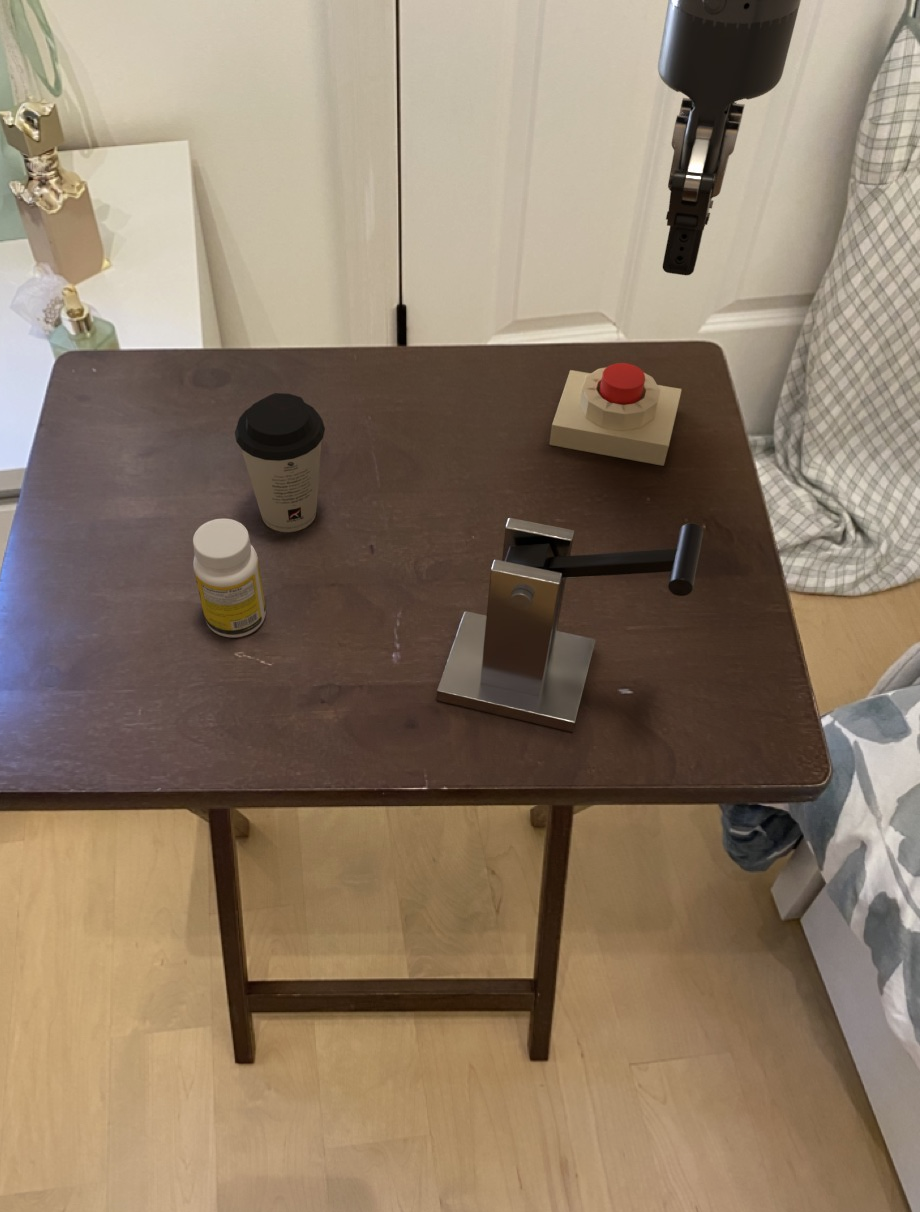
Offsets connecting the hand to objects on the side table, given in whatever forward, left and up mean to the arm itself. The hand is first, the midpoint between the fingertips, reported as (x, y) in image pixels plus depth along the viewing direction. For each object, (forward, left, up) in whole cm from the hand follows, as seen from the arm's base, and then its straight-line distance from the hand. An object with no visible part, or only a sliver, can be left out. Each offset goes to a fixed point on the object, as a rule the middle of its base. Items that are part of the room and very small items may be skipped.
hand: (678, 268), depth 77 cm
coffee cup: (+27, +13, -19) cm, 35 cm away
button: (+3, -6, -15) cm, 17 cm away
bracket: (+5, +24, -19) cm, 31 cm away
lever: (0, +24, -7) cm, 25 cm away
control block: (+3, -6, -19) cm, 20 cm away
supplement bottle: (+27, +25, -19) cm, 41 cm away
